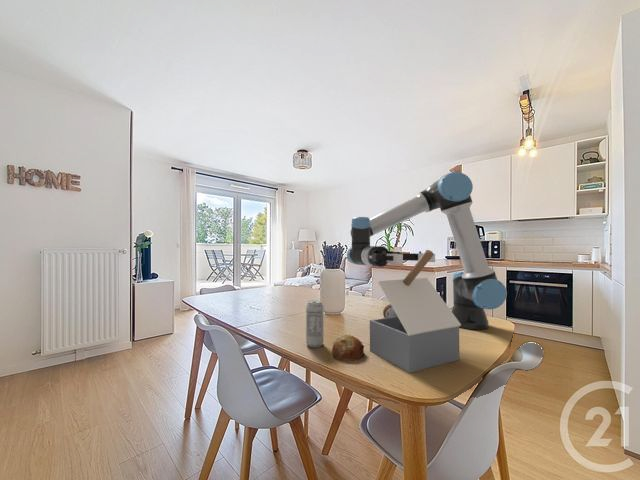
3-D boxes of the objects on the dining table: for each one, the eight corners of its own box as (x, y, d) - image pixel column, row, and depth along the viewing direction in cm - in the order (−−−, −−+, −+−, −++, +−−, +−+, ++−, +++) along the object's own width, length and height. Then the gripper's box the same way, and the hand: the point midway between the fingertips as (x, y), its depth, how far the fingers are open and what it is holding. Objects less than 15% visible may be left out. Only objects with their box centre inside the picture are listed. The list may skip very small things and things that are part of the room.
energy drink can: (325, 342, 100) (325, 300, 100) (320, 348, 94) (320, 304, 94) (309, 341, 101) (309, 299, 102) (303, 347, 95) (303, 303, 96)
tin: (417, 323, 126) (416, 304, 126) (418, 324, 123) (418, 305, 123) (383, 322, 127) (382, 303, 127) (383, 324, 124) (383, 305, 124)
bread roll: (337, 359, 94) (326, 337, 95) (364, 346, 94) (354, 324, 94) (338, 372, 84) (326, 348, 85) (369, 358, 84) (357, 333, 84)
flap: (425, 279, 97) (450, 249, 88) (459, 326, 85) (493, 297, 76) (378, 282, 88) (400, 249, 79) (408, 335, 76) (439, 303, 67)
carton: (415, 341, 101) (415, 313, 101) (459, 359, 85) (459, 326, 85) (369, 350, 92) (369, 320, 92) (409, 372, 76) (409, 335, 76)
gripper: (401, 265, 111) (446, 269, 92) (347, 267, 100) (387, 272, 81) (400, 246, 111) (446, 246, 92) (347, 246, 100) (386, 246, 81)
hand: (418, 258), depth 86 cm, fingers open, 13 cm apart
